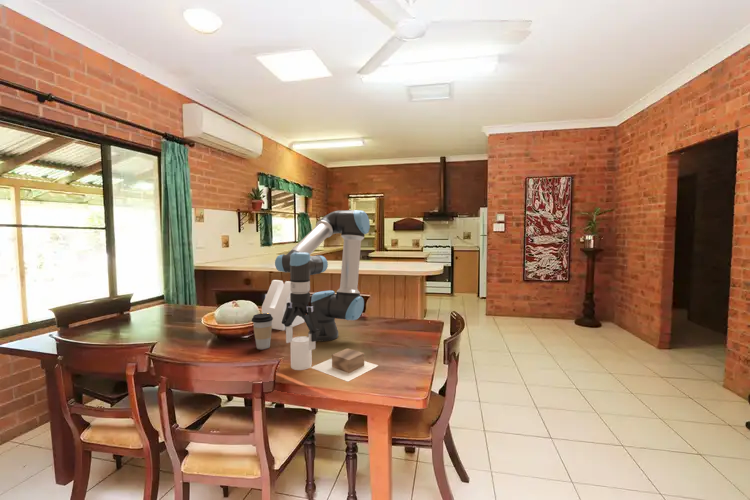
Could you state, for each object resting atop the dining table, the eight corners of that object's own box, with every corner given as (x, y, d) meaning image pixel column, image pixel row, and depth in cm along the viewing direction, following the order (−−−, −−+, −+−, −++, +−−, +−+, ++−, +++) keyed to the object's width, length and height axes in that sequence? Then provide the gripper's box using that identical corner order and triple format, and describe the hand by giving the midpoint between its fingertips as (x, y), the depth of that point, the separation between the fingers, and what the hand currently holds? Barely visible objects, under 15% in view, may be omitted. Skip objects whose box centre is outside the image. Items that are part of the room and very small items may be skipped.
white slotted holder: (285, 318, 212) (285, 277, 210) (305, 321, 205) (305, 279, 203) (262, 326, 195) (261, 282, 193) (283, 330, 188) (282, 284, 186)
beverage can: (292, 365, 142) (292, 336, 141) (312, 364, 142) (312, 335, 141) (289, 373, 134) (288, 342, 133) (310, 372, 134) (310, 342, 133)
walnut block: (331, 367, 136) (331, 354, 136) (347, 360, 144) (347, 348, 143) (349, 373, 131) (349, 360, 131) (364, 365, 138) (364, 353, 138)
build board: (310, 370, 136) (310, 367, 136) (341, 356, 150) (341, 354, 150) (348, 384, 124) (348, 381, 124) (378, 368, 138) (378, 365, 138)
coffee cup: (277, 345, 165) (277, 313, 164) (265, 351, 156) (264, 319, 155) (260, 342, 168) (260, 312, 167) (247, 349, 159) (246, 317, 158)
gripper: (272, 289, 140) (273, 341, 142) (314, 297, 125) (314, 355, 126) (287, 287, 146) (288, 337, 147) (329, 294, 131) (329, 350, 132)
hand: (300, 345), depth 137 cm, fingers open, 13 cm apart
